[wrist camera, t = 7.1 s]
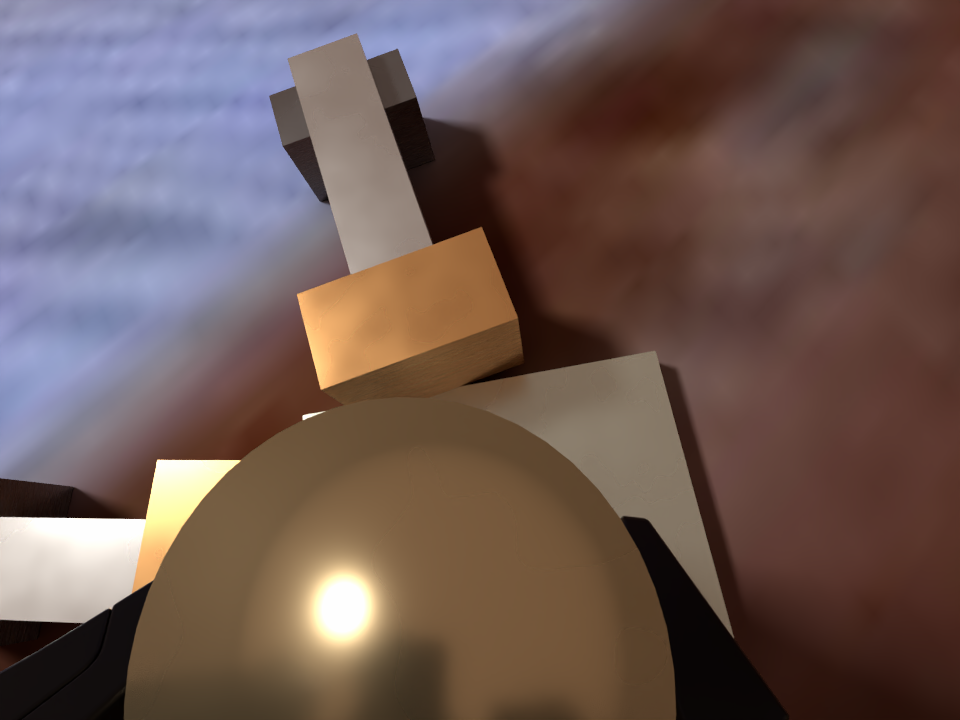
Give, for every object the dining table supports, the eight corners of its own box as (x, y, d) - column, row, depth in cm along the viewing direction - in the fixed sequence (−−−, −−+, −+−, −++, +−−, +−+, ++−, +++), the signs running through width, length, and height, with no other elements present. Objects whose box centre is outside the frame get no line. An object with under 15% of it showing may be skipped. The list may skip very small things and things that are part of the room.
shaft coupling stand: (-60, 878, 17) (-295, 1009, 12) (26, 198, 25) (-96, 117, 20) (759, 767, 15) (852, 867, 11) (575, 80, 23) (581, -37, 19)
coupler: (470, 714, 14) (246, 1195, 4) (388, 550, 15) (61, 563, 5) (620, 615, 14) (808, 801, 4) (526, 464, 16) (482, 310, 5)
